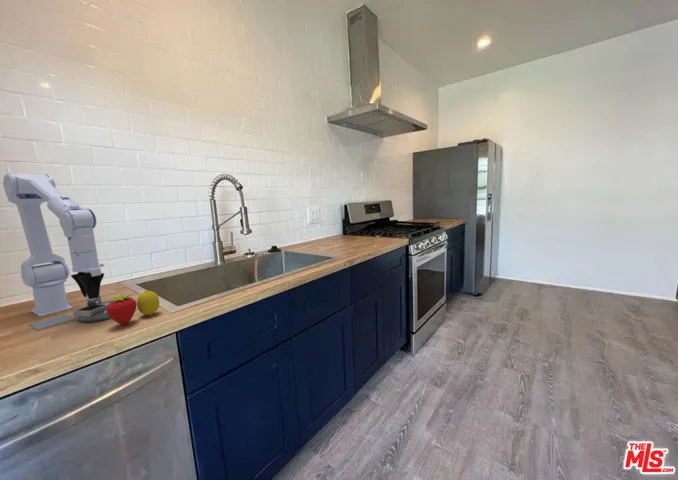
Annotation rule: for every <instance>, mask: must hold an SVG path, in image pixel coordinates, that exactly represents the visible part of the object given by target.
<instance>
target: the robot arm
mask: <svg viewBox="0 0 678 480" xmlns="http://www.w3.org/2000/svg"><path fill="white" fill-rule="evenodd" d="M2 185H3V186H2V187H3V189H4V192H5V196H6V198H7V200H8V202H9V203H13V204H15V205H16V208H17V211H18V213H19V214H18V215H19V218H20V220H21V224H22V228H23V232H24V235H25V238H26V243H27V246H28V250H29V252H30V256H29V257H28V258H26V259H25V260H24V261H23V262H22V263H21V264H20V270H21V271H20V272H21V274H20V276H21V279H22V282H23V284H24V285H25V286H27V287H28V288H32V298H33V302H34V306H35V309H32V310H31V312H32V313H34V315H37V316H39V317H43V316H48V315H51V314H56V313H59V312H63V311H67V310H70V309H73V308H74V307H73V305H70V304H69V303H68V298H67V292H66V287H65V282H67V279H68V278H69V276H70V269H69V268H70V267H69V266H68V264H67V262H66V261H65V260H66V259H65V258H64V257H62V256H61V255H57V254H56V253H53V250H52V246H51V242H50V239H49V234H48V231H47V228H46V223H45V220H44V216H43V213H42V209H41V205H42V204H43V203H46V202H47V204H46V205H47V208H48V209H47V210H49V211H50V212H52V214H54V215H55V216H56V217H57V218H58V222H59V225H60V227H61V229H62V231H63V236H64V237H65V238H67V243H68V249H69V255H70V261H71V265H72V266H71V267H72V268H71V271H72V272H74V273H75V274H71V276H70V277H71V278H72V279H73V280H74V281H75V283H76V284H77V286H78V287H79V290H80V292H81V294H82V296H83V298H87V296H88V298H89V299H93V298H97V297H99V291H101V284H102V282H103V281H102V280H103V278H104V277H105V273H104V272H102V271H101V268H102V267H104V266H105V263H99V257H98V251H97V246H96V238H95V234H94V229H95V227H96V226H97V217H96V215H95V212H94V210H92V209H91V208H84V207H83V208H82V206H80V205H79V204H78V203H77V202H75V201H74V200H73V199H72V198H71V197H69V196H68V195H67V194H61V193H60V192H59V191H58V190H57V189H56V181H55V179H54V178H53V177H52V176H51V175H50V174H32V173H12V172H7V173H6V174H5V175H4V176H3V182H2ZM86 294H87V296H86Z"/></svg>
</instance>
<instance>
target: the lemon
mask: <svg viewBox="0 0 678 480" xmlns="http://www.w3.org/2000/svg"><path fill="white" fill-rule="evenodd" d="M136 303H137V305H136V308H137V310H138V312H139V313H141V314H142V315H146V316H148V317H151V316H152V315H153V314H155V313H156V312H157V311H158V310H159V308H160V299H159V297H158V295H157V293H156V292H154V291H151V290H147V289H145V290H144V291H143V292H142V293H141V294H139V296H138V298H137V301H136Z"/></svg>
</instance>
